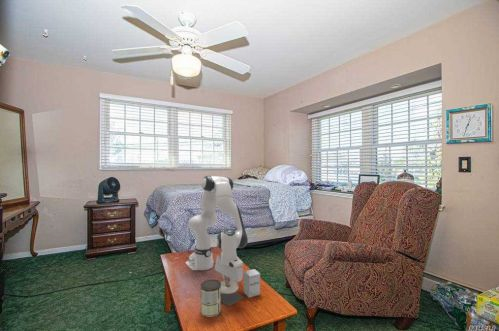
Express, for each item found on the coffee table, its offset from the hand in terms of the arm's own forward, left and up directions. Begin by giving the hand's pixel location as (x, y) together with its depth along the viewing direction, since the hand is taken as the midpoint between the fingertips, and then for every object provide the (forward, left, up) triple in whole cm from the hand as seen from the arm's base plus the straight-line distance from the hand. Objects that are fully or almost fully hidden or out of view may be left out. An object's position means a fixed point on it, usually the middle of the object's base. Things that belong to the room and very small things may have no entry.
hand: (227, 283), depth 136 cm
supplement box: (+7, +13, -9) cm, 17 cm away
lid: (0, 0, -3) cm, 2 cm away
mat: (+1, +1, -8) cm, 8 cm away
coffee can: (+3, -14, -9) cm, 17 cm away
